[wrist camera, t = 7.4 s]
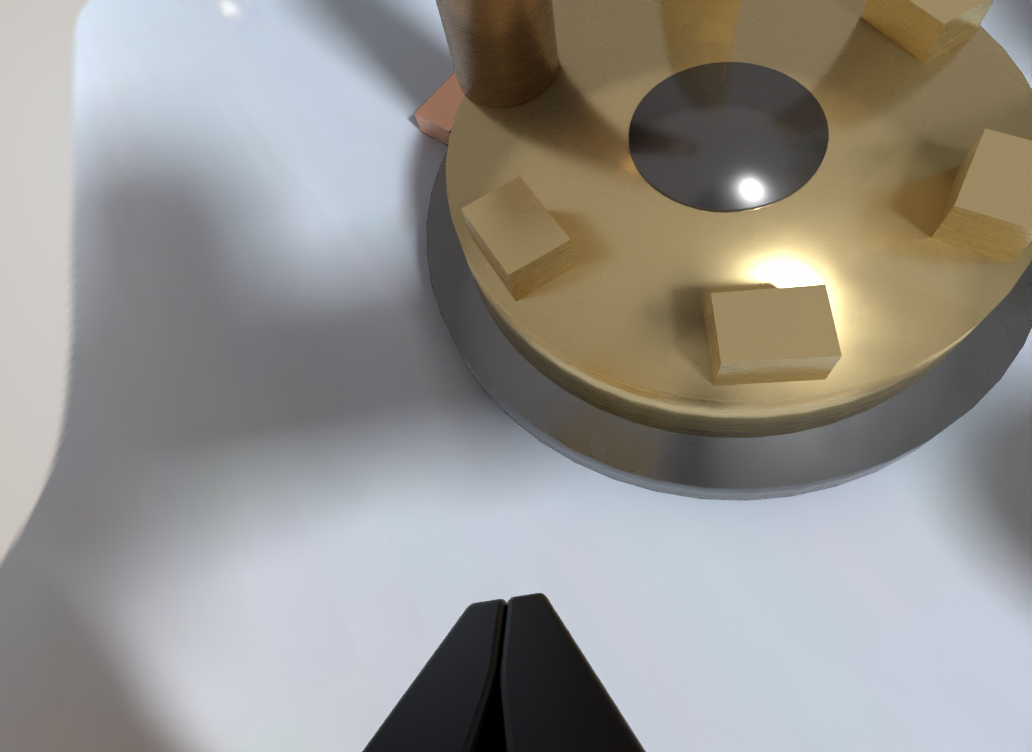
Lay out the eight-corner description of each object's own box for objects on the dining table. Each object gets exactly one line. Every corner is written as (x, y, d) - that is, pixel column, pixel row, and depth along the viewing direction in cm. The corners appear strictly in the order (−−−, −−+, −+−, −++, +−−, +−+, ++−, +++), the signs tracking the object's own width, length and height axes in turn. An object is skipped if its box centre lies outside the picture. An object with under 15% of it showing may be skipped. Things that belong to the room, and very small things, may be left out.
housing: (837, 646, 18) (855, 645, 17) (288, 267, 27) (270, 245, 25) (1122, 146, 24) (1153, 114, 22) (586, -41, 32) (585, -73, 31)
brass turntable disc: (1060, 88, 23) (1554, -564, 11) (894, 547, 18) (1492, 276, 6) (584, -23, 29) (558, -526, 17) (354, 295, 24) (77, -100, 12)
